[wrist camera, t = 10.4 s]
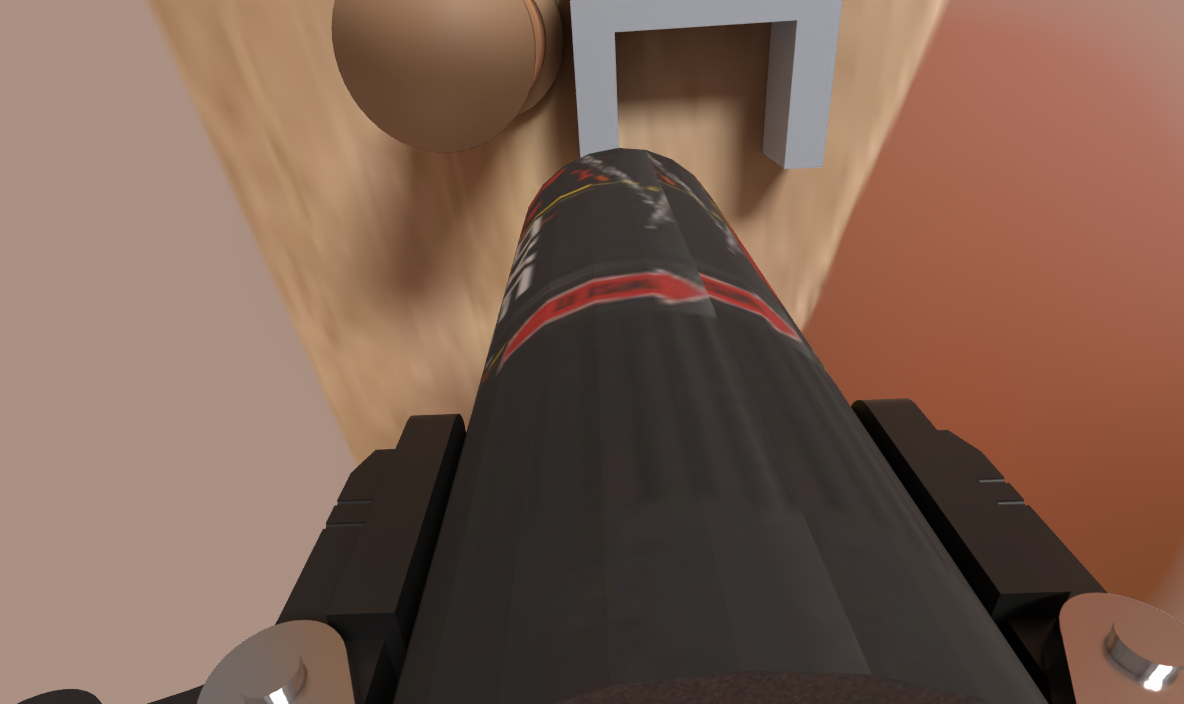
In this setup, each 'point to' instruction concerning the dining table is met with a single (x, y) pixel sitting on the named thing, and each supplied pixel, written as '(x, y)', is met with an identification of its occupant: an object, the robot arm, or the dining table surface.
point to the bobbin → (446, 65)
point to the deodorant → (678, 489)
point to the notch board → (791, 3)
